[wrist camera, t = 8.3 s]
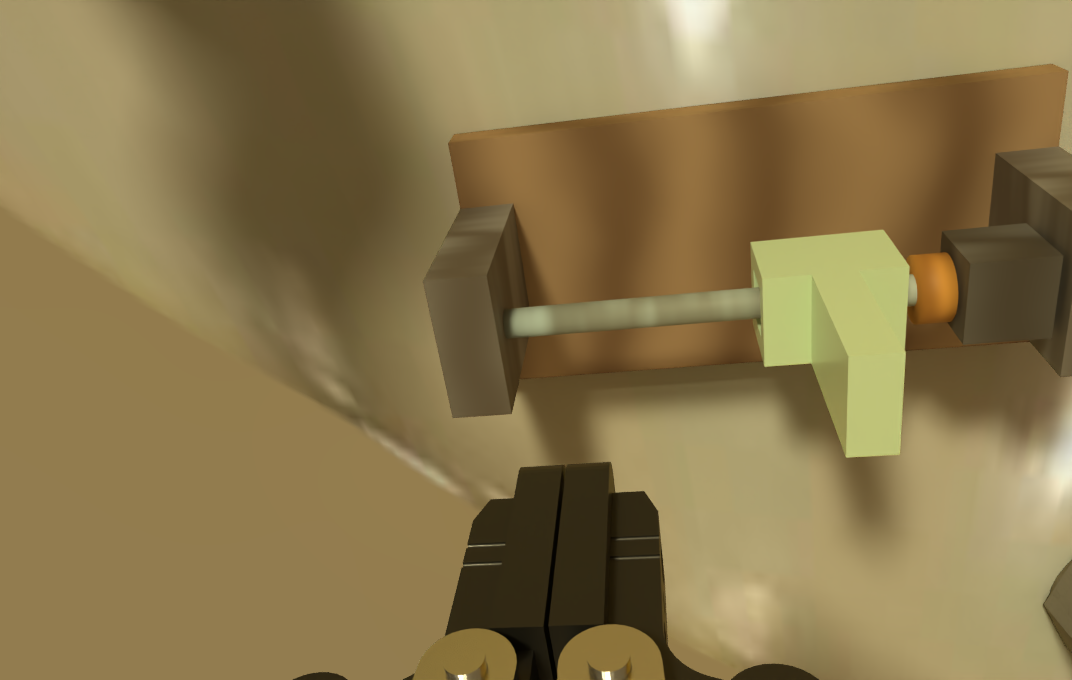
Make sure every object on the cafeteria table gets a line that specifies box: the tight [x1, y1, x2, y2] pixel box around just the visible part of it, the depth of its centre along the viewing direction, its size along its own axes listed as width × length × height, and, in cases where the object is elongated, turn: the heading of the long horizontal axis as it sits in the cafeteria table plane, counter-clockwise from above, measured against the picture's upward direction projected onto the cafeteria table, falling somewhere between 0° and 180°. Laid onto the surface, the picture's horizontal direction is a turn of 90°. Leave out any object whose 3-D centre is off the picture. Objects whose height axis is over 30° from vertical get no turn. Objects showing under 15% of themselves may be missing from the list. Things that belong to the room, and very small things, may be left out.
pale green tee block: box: [750, 230, 910, 458], centre depth 31 cm, size 5×4×10 cm
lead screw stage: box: [423, 64, 1072, 418], centre depth 36 cm, size 25×12×10 cm, turn 98°
